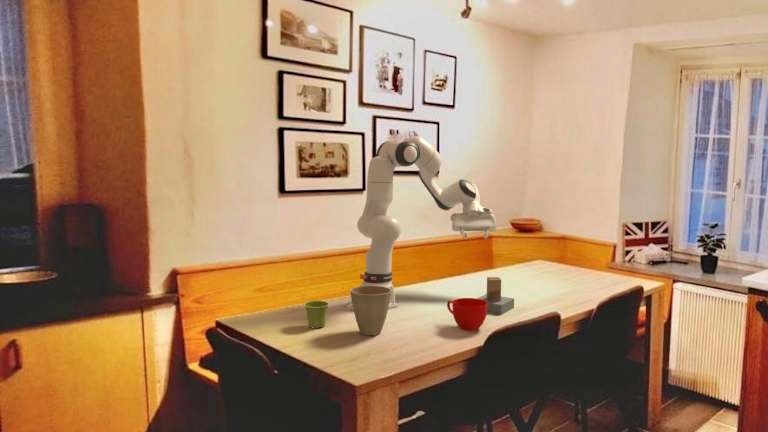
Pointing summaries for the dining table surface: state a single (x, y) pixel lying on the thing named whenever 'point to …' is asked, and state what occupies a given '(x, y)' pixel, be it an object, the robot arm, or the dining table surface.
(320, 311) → the plant pot
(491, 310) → the charcoal plinth
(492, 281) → the walnut post
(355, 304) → the plant pot
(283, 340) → the dining table surface
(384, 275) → the robot arm
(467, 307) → the ceramic cup
